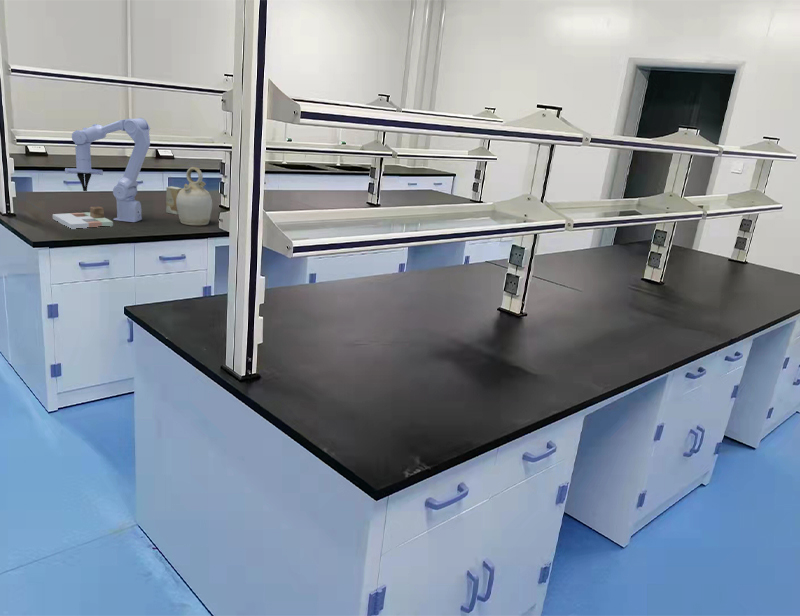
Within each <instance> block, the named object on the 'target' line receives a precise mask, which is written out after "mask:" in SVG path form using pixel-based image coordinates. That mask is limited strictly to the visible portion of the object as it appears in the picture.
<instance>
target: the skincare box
mask: <svg viewBox="0 0 800 616" xmlns="http://www.w3.org/2000/svg"><path fill="white" fill-rule="evenodd" d="M165 188H166V190H165V191H166V196H165V197H166V198H165V199H166V205H165V207H166V211H165V213H167V214H171V215H178V210H177V205H176V198H177V195H178V193H179V191H180V190H181V189H183V188H184V187H183V188H182V187H178V186H172V185H171V186H166V187H165Z"/></svg>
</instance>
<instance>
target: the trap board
mask: <svg viewBox="0 0 800 616" xmlns="http://www.w3.org/2000/svg"><path fill="white" fill-rule="evenodd" d="M52 220H54V221H56V222H57V221H58V222H57V223H58V224H61V225H63V226H64V225H65V226H64V227H66V226H67V227H66V228H68V227H69V228H68V229H70V228H71V229H70V230H77V229H76V228H83V229H88V228H87V227H97V228H99V227H98V226H110V227H114V222H113V221H114V220H113V221H112V220H111V219H109V218H106V217H104V218H93V217H91V216H90V211H89V212H86V211H85V212H70V213H55V214H54V213H53V214H52Z"/></svg>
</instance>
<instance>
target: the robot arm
mask: <svg viewBox="0 0 800 616" xmlns="http://www.w3.org/2000/svg"><path fill="white" fill-rule="evenodd" d="M150 130H151V127H150V125H149V123H148V121H147V120H146V119H144V118H142V117H137V118H126V119H119V120H117V121H113V122H112V123H108V124H106V125H101V124H97V123H94V124H91V126H90V127H83V128H82V130H81V129H76V130H74V131H73V132H72V134H71V139H72V141H73V143H74V145H77V146H74V147H75V149H74V150H75V163H76V164H75V166H76V168H75V167H73V168H68V167H65V169H64V173H65V174H76V177H77V178H78V180H79V182H80V183H81V187H82V191H83V192H87V191H88V185H89V182H90V179H91V178H92V175H99V176H103V174H104V172H103V169H95V168H92V157H91V156H92V154H91V153H92V152H91V147H92V146H91V144H92V143H93V142H95V141H99V140H103V139H104V138H106V137H107V134H111V133H114V132H117V131H122V132H126V134H127V135H128V136H130V138H131V139H132V141H133V142H134V146H133V148H132V151H131V154H130V157H129V160H128V163H127V165H126V168H125V170H124V173H123V176H122V177H121V178H120V179H119V180H118V181H117V184H116V185H115V186H114V187H113V189H112V194H113V197H114V198H115V200H116V215H117V217H114V218H113V221H120V222H128V223H129V222H130V223H137V222H139V221H141V220H143V217H142V204H141V202H140V201H139V200H136V199H135V197H136V195H137V194H138V185H139V183H138V181H137V179H138V178H139V175H140V173H141V172H140V171H141V169H142V166H143V164H144V161H145V159H146V156H147V153H148V151H149V148H150V146H151V139H150V137H151V136H150Z"/></svg>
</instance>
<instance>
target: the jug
mask: <svg viewBox="0 0 800 616" xmlns="http://www.w3.org/2000/svg"><path fill="white" fill-rule="evenodd" d="M193 171H195V172H196V173H197V176H198V178H197V180H196V181H195V180H193V179H192V176H191V175H192V172H193ZM185 174H186V180H187V182H188V183H185V184H184V186H183V189H181V190H180V191H179V193H178V195H177V198H176V205H177V210H178V214H177V215H178V218H179V222H180V223H181V224H182V225H186V226H206V225H209V222H210V220H211V214H212V210H213V209H212V208H213V200H212V196H211V194H210V192H209V191H208V190H207V189H205V186H206V184H207V183H206V182H204V181H203V177H204V176H203V173H202V170H200V168H199V167H197V166H191V167H189V168H188V169H187V170H186V173H185Z"/></svg>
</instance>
